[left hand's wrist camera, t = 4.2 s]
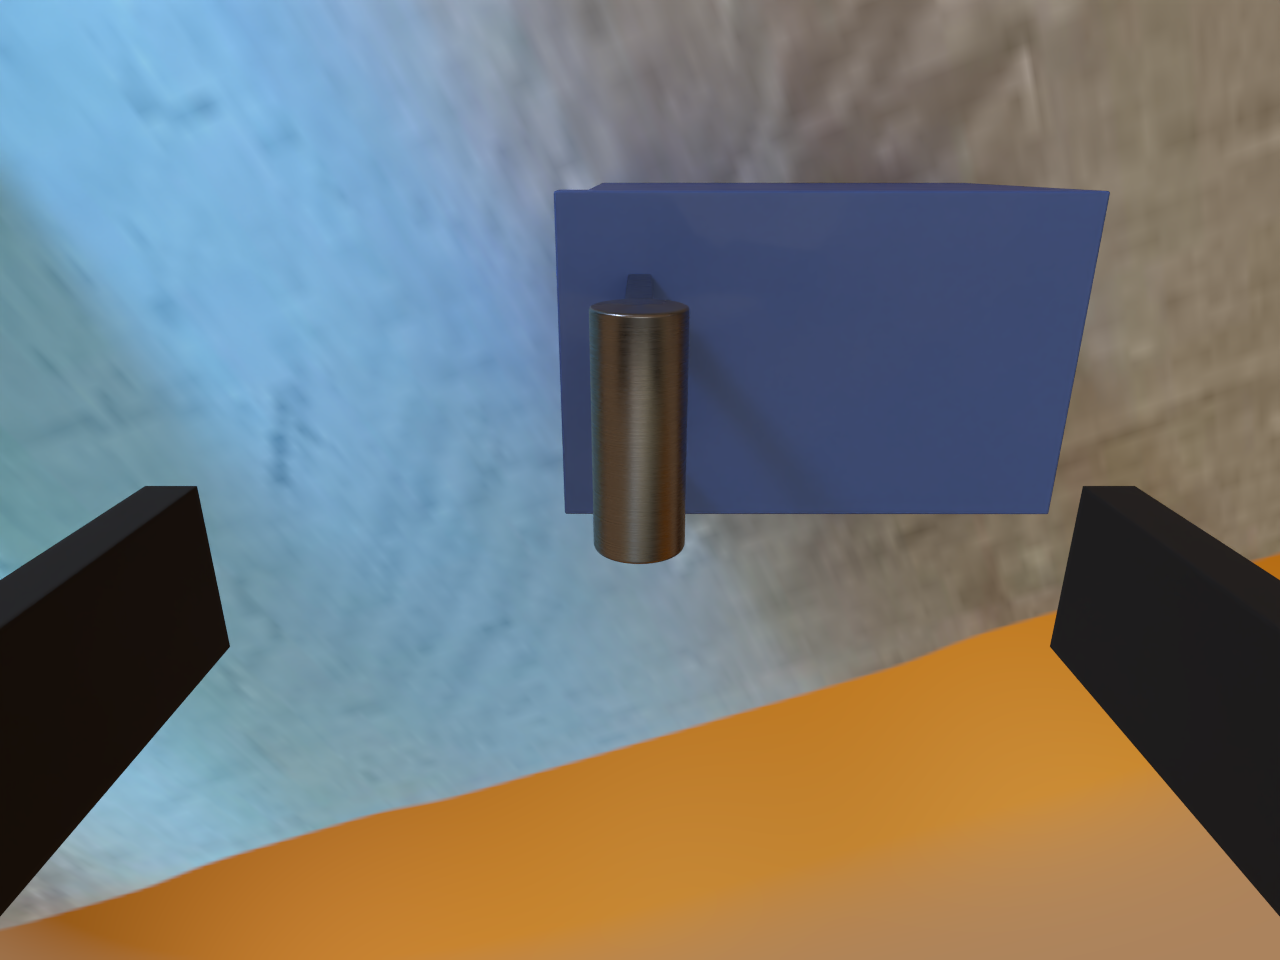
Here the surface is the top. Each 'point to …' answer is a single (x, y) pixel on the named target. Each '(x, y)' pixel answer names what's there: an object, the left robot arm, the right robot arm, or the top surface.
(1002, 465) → the lid
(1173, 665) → the left robot arm
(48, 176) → the top surface
